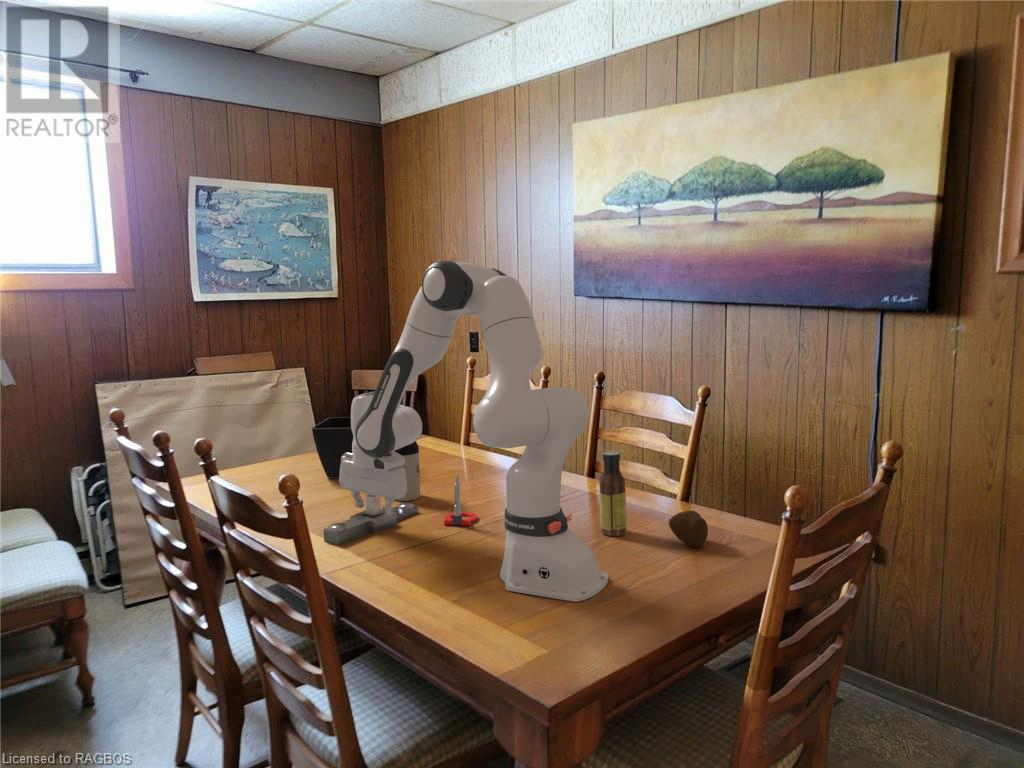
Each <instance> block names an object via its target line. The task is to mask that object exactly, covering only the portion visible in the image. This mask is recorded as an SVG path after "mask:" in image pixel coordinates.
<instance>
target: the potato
mask: <svg viewBox="0 0 1024 768" xmlns="http://www.w3.org/2000/svg"><path fill="white" fill-rule="evenodd" d="M668 525H669V528H670V530H671V531H672V533H673V534H674V535H675V536H676V538H678V539H679V540H680V541H681V542H683V543H684V544H685V545H687V544H688V545H687V546H689V545H691V546H690V547H692V546H699V547H701V546H702V545H703V544H705V542H706V540H707V539H708V534H709V533H708V532H709V529H708V523H707V522H706V520H705V519H704V518H703V517H702V516H701V515H700V513H698V512H697V511H695V510H685V511H681V512H678V513H676V514H675V515H673V516H672V517H671V518H670V519H669V522H668Z"/></svg>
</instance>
